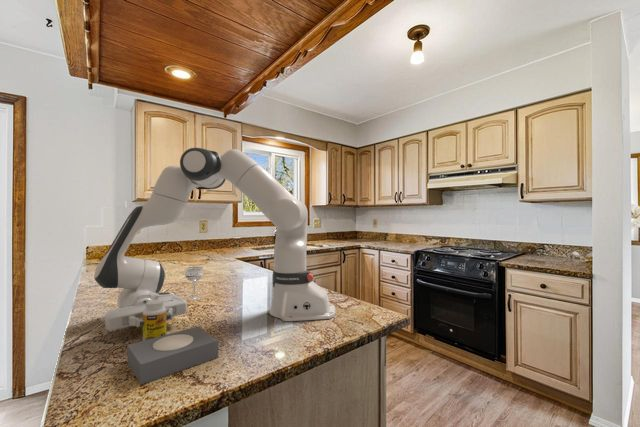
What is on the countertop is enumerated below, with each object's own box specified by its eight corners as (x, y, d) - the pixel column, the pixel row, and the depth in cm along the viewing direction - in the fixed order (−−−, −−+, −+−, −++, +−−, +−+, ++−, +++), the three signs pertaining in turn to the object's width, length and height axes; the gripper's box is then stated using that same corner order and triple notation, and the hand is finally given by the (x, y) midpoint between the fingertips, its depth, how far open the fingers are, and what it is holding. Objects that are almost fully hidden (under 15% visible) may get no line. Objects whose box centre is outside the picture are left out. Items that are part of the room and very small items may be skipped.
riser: (198, 341, 79) (198, 325, 79) (218, 357, 70) (218, 339, 70) (127, 362, 68) (127, 344, 68) (140, 384, 59) (140, 363, 59)
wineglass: (197, 301, 114) (197, 270, 114) (181, 300, 115) (181, 269, 115) (206, 296, 121) (206, 266, 120) (191, 295, 122) (191, 266, 122)
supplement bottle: (143, 346, 76) (143, 306, 76) (142, 338, 80) (141, 300, 80) (167, 341, 79) (167, 302, 79) (165, 333, 83) (165, 297, 83)
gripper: (99, 305, 82) (108, 317, 72) (177, 291, 96) (194, 300, 86) (99, 328, 82) (108, 344, 72) (177, 310, 96) (194, 322, 86)
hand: (155, 320), depth 79 cm, fingers closed on supplement bottle, 5 cm apart
